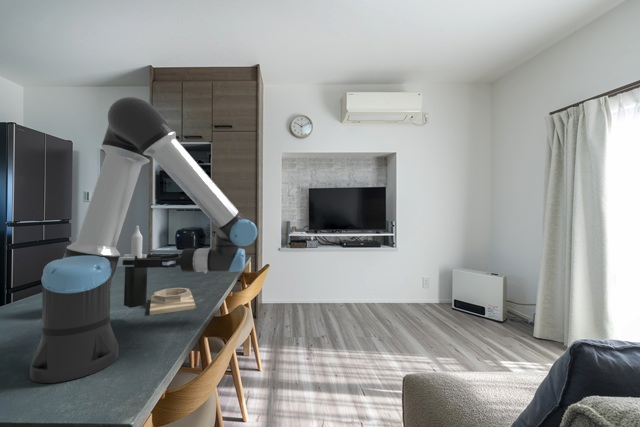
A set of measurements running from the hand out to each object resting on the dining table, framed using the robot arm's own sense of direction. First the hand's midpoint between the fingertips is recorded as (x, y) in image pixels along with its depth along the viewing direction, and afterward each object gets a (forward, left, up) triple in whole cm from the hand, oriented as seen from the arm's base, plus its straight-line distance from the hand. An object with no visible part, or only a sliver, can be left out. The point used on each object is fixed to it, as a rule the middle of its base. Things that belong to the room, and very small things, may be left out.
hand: (118, 260), depth 92 cm
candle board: (+11, -15, -19) cm, 27 cm away
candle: (-2, -5, -14) cm, 15 cm away
